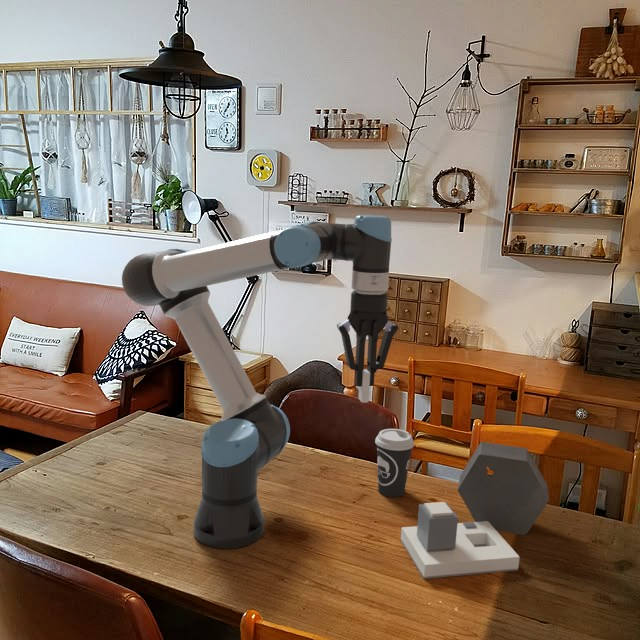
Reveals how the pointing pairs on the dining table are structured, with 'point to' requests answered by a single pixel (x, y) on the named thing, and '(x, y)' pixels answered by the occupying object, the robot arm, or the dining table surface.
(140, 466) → the dining table surface
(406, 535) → the socket plate
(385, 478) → the coffee cup
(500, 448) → the grey hexagonal prism
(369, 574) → the dining table surface
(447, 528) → the plug
